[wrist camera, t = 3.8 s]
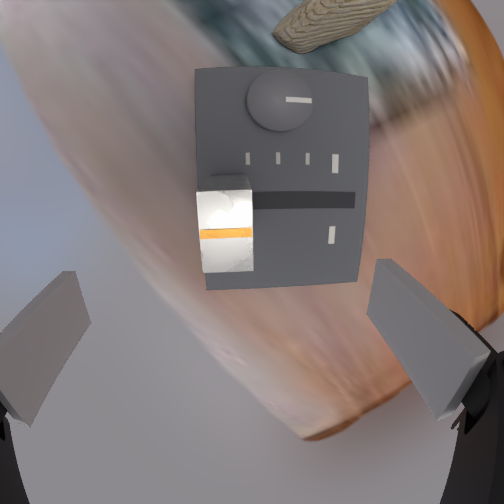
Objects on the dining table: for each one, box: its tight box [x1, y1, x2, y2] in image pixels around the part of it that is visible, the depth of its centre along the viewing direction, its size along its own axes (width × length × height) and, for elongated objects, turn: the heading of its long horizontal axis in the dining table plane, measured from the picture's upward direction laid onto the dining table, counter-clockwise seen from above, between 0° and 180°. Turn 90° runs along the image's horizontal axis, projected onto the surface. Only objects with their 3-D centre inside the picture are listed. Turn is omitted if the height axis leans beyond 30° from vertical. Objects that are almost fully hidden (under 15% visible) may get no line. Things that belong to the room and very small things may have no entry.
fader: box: [196, 174, 254, 273], centre depth 23 cm, size 4×6×10 cm, turn 1°
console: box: [195, 66, 369, 290], centre depth 27 cm, size 18×24×5 cm
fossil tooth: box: [272, 0, 397, 53], centre depth 18 cm, size 12×6×15 cm
